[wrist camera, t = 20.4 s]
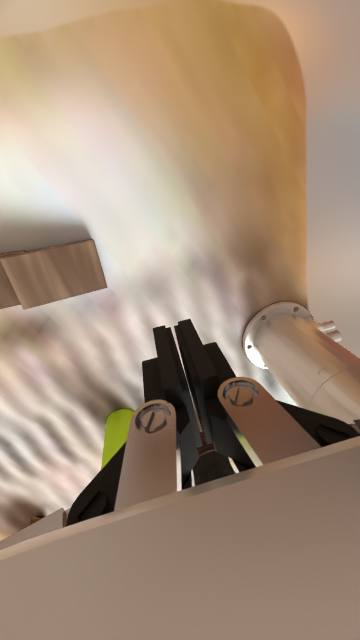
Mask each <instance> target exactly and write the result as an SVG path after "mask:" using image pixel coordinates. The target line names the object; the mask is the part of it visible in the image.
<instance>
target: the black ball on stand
mask: <svg viewBox="0 0 360 640" xmlns="http://www.w3.org/2000/svg"><path fill="white" fill-rule="evenodd" d="M200 437H201V441H202V445H203V446H200V447H197V450H198V453H199V459H198V461H197V462H196V464H195V466H194V467H193V469H192V470H193V474H194V485H195V486H197V485H200V484H203V483H207V482H210V481H213V480H216V479H220V478H223V477H226V476H229V475H233V474H236V473H235V471H234V469H233V468H232V466H231V464H230V461H229V458H228V457H227V456H225V455H223V454H221V453H219V452H215V449H214V446H213V443H210V444H207V443H206V439H205V436H204V433H203V432H202V433H200Z"/></svg>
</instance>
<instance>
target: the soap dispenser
mask: <svg viewBox="0 0 360 640" xmlns="http://www.w3.org/2000/svg"><path fill="white" fill-rule="evenodd" d="M134 412H135V411H133V410H130V409H119V410H116V411H114V412H112V413H111V414H110V415H109V416H108V418H107V421H106V431H105V440H104V449H103V458H102V467H101V470H102V468H103V467H104V466H105V465H106V464H107V463H108V462H109V460H110V459H111V458H112V457H113V456H114V455H115V454H116V452H117V451H118V450H119V449H120V448H121V447H122V446H123V444H124V443H125V442H126V441H127V436H128V431H129V425H130V420H131V418H132V415H133V414H134Z"/></svg>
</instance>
